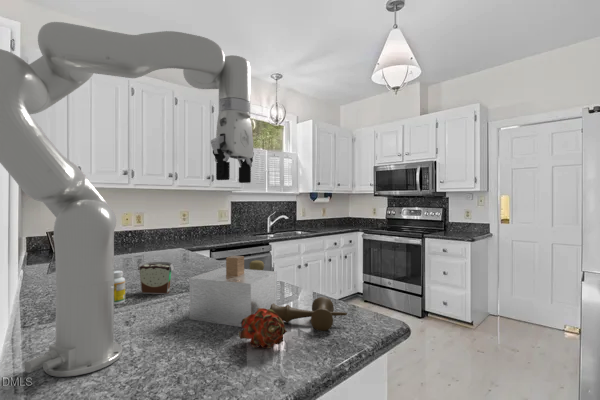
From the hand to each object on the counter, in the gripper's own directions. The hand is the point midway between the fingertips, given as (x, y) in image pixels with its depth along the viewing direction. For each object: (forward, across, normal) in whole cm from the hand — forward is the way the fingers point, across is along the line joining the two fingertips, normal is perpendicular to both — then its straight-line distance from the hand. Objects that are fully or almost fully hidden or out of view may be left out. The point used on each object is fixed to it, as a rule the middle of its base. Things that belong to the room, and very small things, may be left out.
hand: (234, 181), depth 77 cm
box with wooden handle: (+36, +12, +7) cm, 39 cm away
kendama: (+37, +12, -15) cm, 41 cm away
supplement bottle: (+36, +8, +48) cm, 61 cm away
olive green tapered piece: (+36, +34, +12) cm, 51 cm away
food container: (+36, +23, +45) cm, 62 cm away
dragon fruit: (+37, -4, -9) cm, 38 cm away
